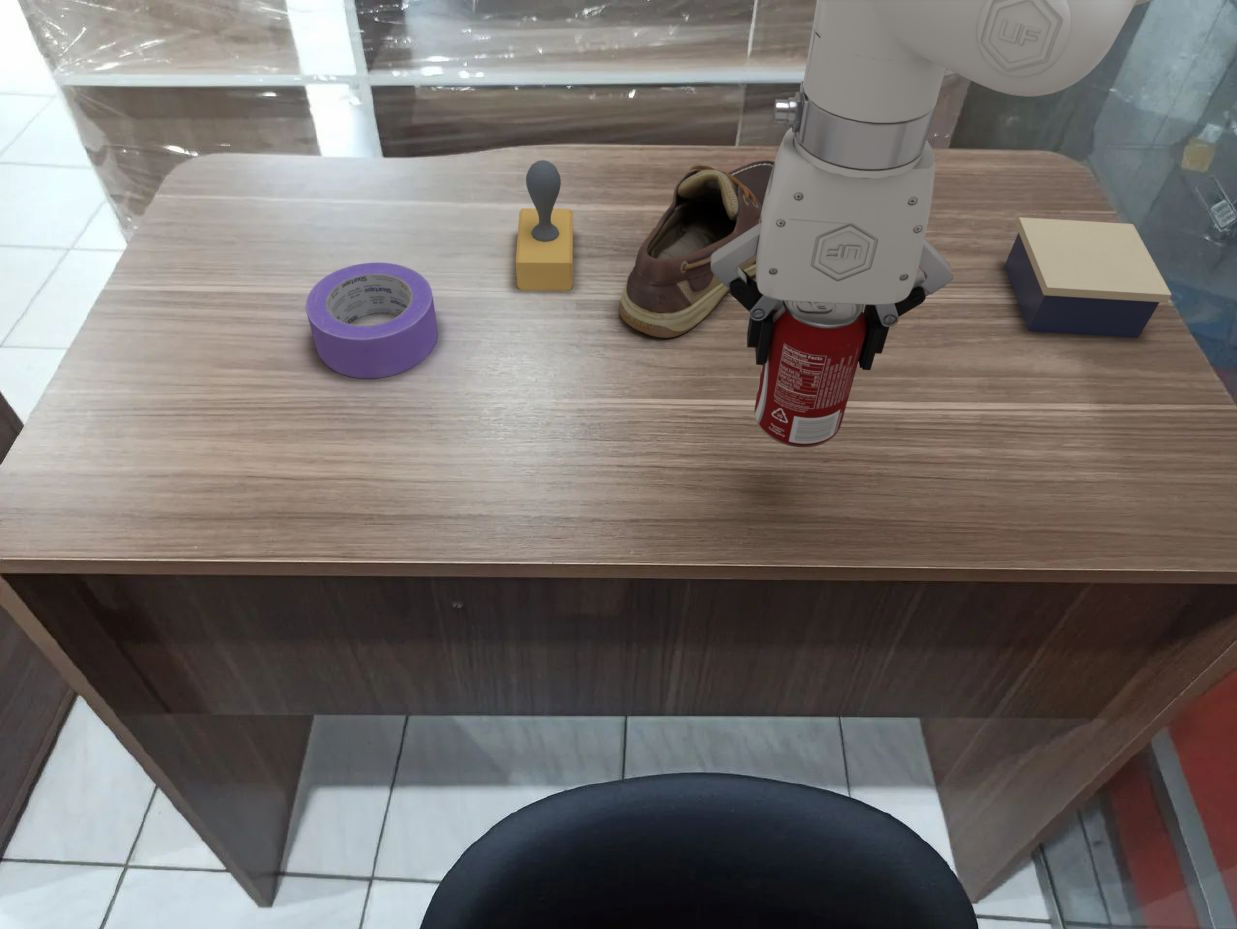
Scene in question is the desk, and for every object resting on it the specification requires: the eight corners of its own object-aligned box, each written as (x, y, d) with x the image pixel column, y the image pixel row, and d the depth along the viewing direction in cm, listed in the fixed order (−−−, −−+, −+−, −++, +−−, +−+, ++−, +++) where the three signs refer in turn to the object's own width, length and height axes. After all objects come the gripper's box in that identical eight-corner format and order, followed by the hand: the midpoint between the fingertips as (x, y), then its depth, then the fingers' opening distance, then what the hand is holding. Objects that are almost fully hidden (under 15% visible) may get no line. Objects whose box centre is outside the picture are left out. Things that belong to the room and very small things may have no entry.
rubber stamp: (572, 291, 95) (571, 190, 86) (517, 291, 94) (510, 189, 85) (572, 235, 101) (571, 136, 92) (521, 235, 101) (515, 135, 92)
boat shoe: (741, 185, 109) (754, 98, 101) (822, 218, 105) (843, 129, 97) (588, 313, 92) (589, 221, 84) (678, 357, 88) (687, 265, 80)
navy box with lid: (1108, 270, 100) (1133, 223, 95) (1143, 341, 92) (1172, 294, 87) (999, 263, 100) (1018, 216, 95) (1024, 334, 92) (1047, 287, 88)
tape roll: (411, 288, 94) (404, 248, 91) (457, 354, 88) (452, 313, 84) (300, 323, 90) (288, 283, 86) (340, 395, 84) (328, 355, 80)
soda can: (845, 454, 69) (881, 332, 60) (756, 452, 69) (779, 330, 60) (833, 393, 73) (864, 271, 64) (749, 391, 73) (769, 269, 64)
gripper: (713, 150, 50) (691, 384, 64) (1029, 162, 50) (940, 396, 63) (712, 87, 55) (692, 317, 69) (999, 98, 55) (922, 327, 68)
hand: (811, 353), depth 66 cm, fingers closed on soda can, 6 cm apart
